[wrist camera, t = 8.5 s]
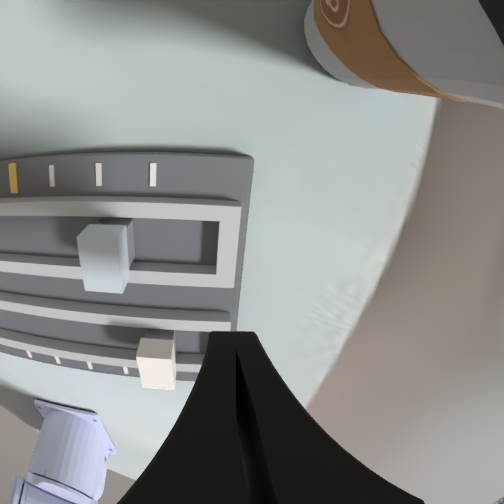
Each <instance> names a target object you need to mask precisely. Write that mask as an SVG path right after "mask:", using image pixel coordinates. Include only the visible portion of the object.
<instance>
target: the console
mask: <svg viewBox="0 0 504 504" xmlns="http://www.w3.org/2000/svg"><path fill="white" fill-rule="evenodd" d="M253 166H254V159H253V158H252V157H251V156H238V155H224V154H208V153H186V152H94V153H73V154H58V155H45V156H34V157H24V158H15V159H7V160H0V352H3V353H7V354H10V355H14V356H18V357H22V358H26V359H31V360H35V361H39V362H44V363H49V364H54V365H59V366H64V367H69V368H75V369H81V370H87V371H93V372H100V373H107V374H115V375H123V376H132V377H140V373H139V369H138V364H137V359H136V355H137V351H138V347H139V343H140V339H141V338H144V335H145V331H146V328H150V329H165V330H175V337H176V359H175V362H176V380H182V381H196V379H197V376H198V374H199V371H200V368H201V366H202V363H203V360H204V356H205V353H206V349H207V344H208V338H209V333H210V332H212V331H236V329H237V319H238V309H239V299H240V289H241V279H242V270H243V260H244V250H245V241H246V231H247V222H248V213H249V203H250V194H251V185H252V176H253ZM102 218H119V219H133V230H134V248H135V257H134V259H133V261H132V264H131V266H130V268H129V270H130V278H129V280H128V282H127V285H126V287H125V289H124V292H123V294H120V293H107V292H95V291H85V287H84V282H83V276H82V271H81V265H80V259H79V252H78V245H77V238H76V237H77V236H78V235H79V234H80V233H81V232H82V231H83V230H84V229H85V228H86V227H87V226H88V225H89V224H97V223H98V222H99V221H100V220H101V219H102Z"/></svg>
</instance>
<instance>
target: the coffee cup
mask: <svg viewBox="0 0 504 504" xmlns="http://www.w3.org/2000/svg"><path fill="white" fill-rule="evenodd" d="M304 33H305V37H306V41H307V45H308V47H309V48H310V50H311V52H312V54H313V56H314V57H315V59H316V60H317V61H318V62H319V63H320V65H321V66H322V67H323V68H324V69H325V70H326V71H327V72H329V73H330V74H331V75H333V76H334V77H335V78H337V79H338V80H340V81H343V82H345V83H347V84H349V85H352V86H357V87H363V88H374V89H385V90H390V91H394V92H401V93H410V94H417V95H425V96H431V97H437V98H443V99H449V100H454V101H459V102H477V103H482V104H486V105H490V106H495V107H498V108H502V109H504V0H312V2H311V3H310V5H309V6H308V9H307V12H306V15H305V18H304Z"/></svg>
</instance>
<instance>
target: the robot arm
mask: <svg viewBox="0 0 504 504" xmlns="http://www.w3.org/2000/svg"><path fill="white" fill-rule="evenodd" d="M34 404H35V406H36V408H37V409H38V411H39V412H40V414H41V415H42V417H43V418H44V421H43V423H42V426H41V429H40V432H39V435H38V439H37V442H36V445H35V448H34V451H33V455H32V458H31V462H30V465H29V469H28V471H27V474H26V476H25V479H24V475H22V474H18V475H14V477H13V480H12V483H11V487H10V491H9V496H8V500H7V504H98V501H97V500H98V499H99V498H100V497H101V495H102V493H103V490H104V484H105V477H106V470H107V464H108V458H109V454H112V455H116V454H117V451H116V449H115V447H114V446H113V444H112V442H111V440H110V438H109V436H108V435H107V433H106V431H105V429H104V427H103V425H102V423H101V421H100V419H99V417H98V415H97V414H95V413H93V412H88V411H82V410H77V409H73V408H68V407H64V406H59V405H55V404H51V403H47V402H43V401H40V400H34ZM117 504H425V503H424V501H423V500H421V499H419V498H417V497H415V496H413V495H411V494H409V493H407V492H405V491H404V490H402V489H400V488H398V487H397V486H395V485H393V484H391V483H390V482H388V481H387V480H385V479H383V478H382V477H380V476H379V475H377V474H376V473H374V472H373V471H371V470H370V469H369V468H367V467H366V466H365V465H363V464H362V463H361V462H360V461H358V460H357V459H356V458H355V457H353V456H352V455H351V454H350V453H348V452H347V451H346V450H345V449H343V448H342V447H341V446H340V445H339V444H338V443H337V442H336V441H335V440H333V438H331V437H330V436H329V435H328V434H327V433H326V432H325V431H324V430H323V429H322V428H321V427H320V425H318V423H317V422H316V421H315V420H314V419H313V418H312V417H311V416H310V414H309V413H308V412H307V411H306V410H305V409H304V407H303V406H302V405H301V404H300V402H299V401H298V400H297V399H296V397H295V396H294V395H293V393H292V392H291V391H290V389H289V388H288V387H287V385H286V384H285V382H284V381H283V379H282V378H281V376H280V375H279V373H278V372H277V370H276V369H275V367H274V366H273V364H272V362H271V361H270V359H269V357H268V356H267V354H266V352H265V350H264V348H263V347H262V345H261V343H260V341H259V339H258V337H257V334H255V333H254V332H245V331H212V332H210V333H209V338H208V344H207V349H206V353H205V356H204V360H203V363H202V366H201V368H200V371H199V374H198V376H197V379H196V381H195V384H194V386H193V389H192V391H191V393H190V395H189V397H188V399H187V401H186V403H185V406H184V408H183V410H182V412H181V414H180V415H179V417H178V419H177V421H176V423H175V425H174V426H173V428H172V430H171V431H170V433H169V435H168V437H167V438H166V440H165V441H164V443H163V444H162V446H161V447H160V449H159V450H158V452H157V453H156V455H155V456H154V458H153V459H152V461H151V462H150V464H149V465H148V466H147V468H146V469H145V470H144V472H143V473H142V474H141V475H140V477H139V478H138V479H137V480H136V482H135V483H134V484H133V485H132V487H131V488H130V489H129V490H128V491H127V493H126V494H125V495H124V496H123V497H122V498H121V500H120V501H119V502H118V503H117ZM493 504H504V497H502V498H500V499H499V500H497V501H496V502H494V503H493Z"/></svg>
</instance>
